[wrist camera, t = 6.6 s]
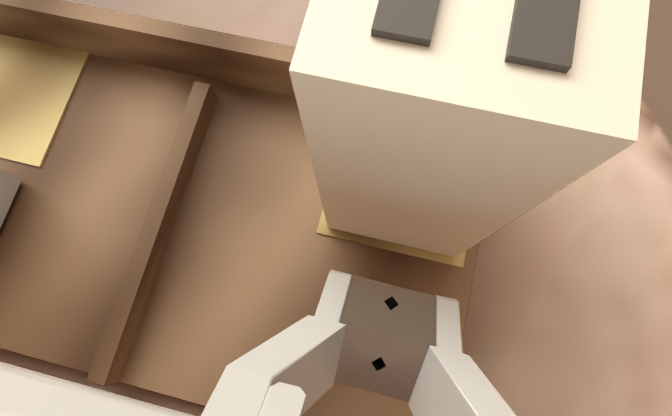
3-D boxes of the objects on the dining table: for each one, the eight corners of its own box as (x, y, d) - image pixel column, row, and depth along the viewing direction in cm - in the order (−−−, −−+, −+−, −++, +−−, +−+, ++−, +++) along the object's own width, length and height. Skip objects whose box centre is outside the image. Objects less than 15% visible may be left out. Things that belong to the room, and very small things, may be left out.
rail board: (-138, 300, 17) (-265, 295, 13) (-5, 34, 20) (-82, -28, 16) (432, 460, 15) (457, 502, 11) (489, 137, 18) (522, 92, 14)
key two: (328, 227, 16) (286, 63, 6) (358, 110, 17) (366, -195, 7) (455, 257, 15) (644, 136, 5) (477, 134, 16) (668, -153, 6)
